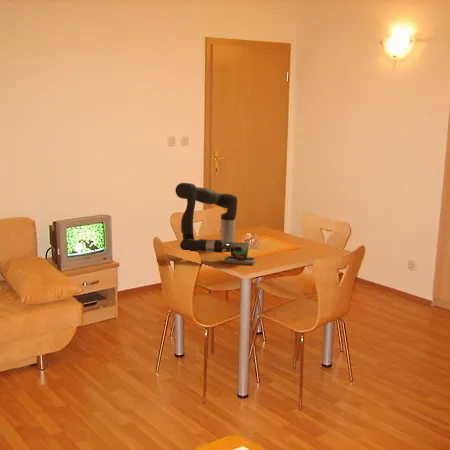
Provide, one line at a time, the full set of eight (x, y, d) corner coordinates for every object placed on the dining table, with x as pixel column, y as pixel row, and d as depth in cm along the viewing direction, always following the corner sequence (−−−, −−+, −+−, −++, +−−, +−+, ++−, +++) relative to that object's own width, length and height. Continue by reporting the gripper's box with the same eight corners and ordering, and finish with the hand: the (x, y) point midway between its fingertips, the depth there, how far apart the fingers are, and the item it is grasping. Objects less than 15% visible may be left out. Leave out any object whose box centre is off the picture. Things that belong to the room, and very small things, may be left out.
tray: (227, 258, 365) (227, 255, 365) (255, 260, 363) (255, 257, 362) (224, 263, 356) (224, 260, 355) (253, 265, 353) (253, 262, 353)
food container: (230, 260, 355) (231, 243, 352) (228, 257, 361) (229, 241, 358) (251, 260, 357) (252, 243, 354) (249, 257, 363) (250, 240, 360)
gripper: (212, 242, 352) (240, 244, 349) (217, 236, 366) (244, 238, 363) (211, 255, 354) (240, 257, 351) (216, 249, 368) (244, 251, 365)
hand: (242, 248), depth 357 cm, fingers closed on food container, 7 cm apart
